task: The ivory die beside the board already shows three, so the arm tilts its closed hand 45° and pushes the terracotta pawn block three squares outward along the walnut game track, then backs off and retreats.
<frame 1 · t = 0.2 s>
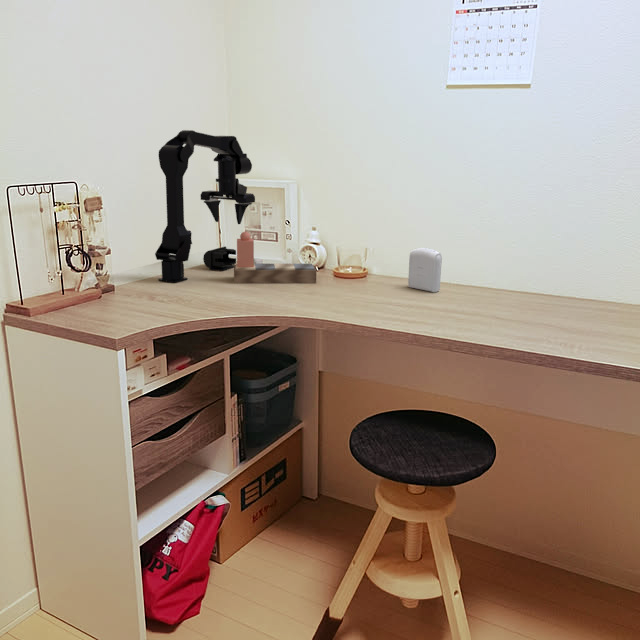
hand: (228, 223, 218), 15 cm above the table, tool pointing down, fingers open, 9 cm apart
pawn: (245, 265, 200), point 4 cm above the table, touching track
photo printer: (423, 289, 195), on the table
track: (245, 280, 201), on the table
die: (254, 271, 214), on the table
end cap: (220, 269, 219), on the table
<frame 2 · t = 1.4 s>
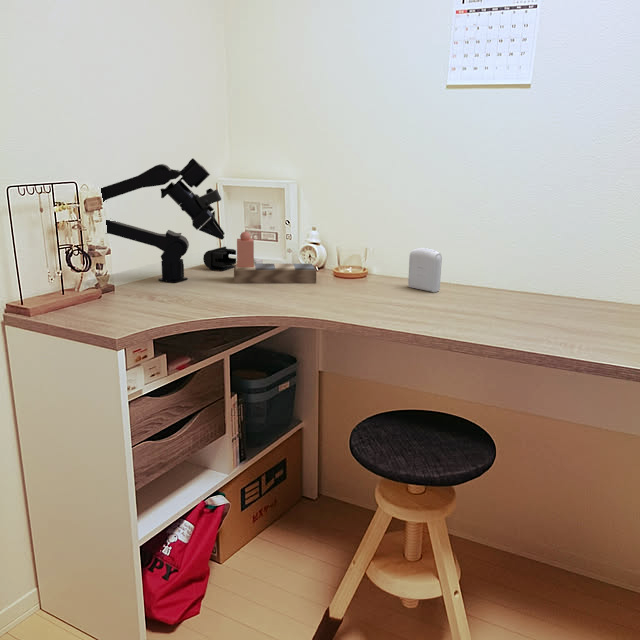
hand: (223, 236, 197), 13 cm above the table, tool tilted 45°, fingers open, 8 cm apart
nothing on the table moved.
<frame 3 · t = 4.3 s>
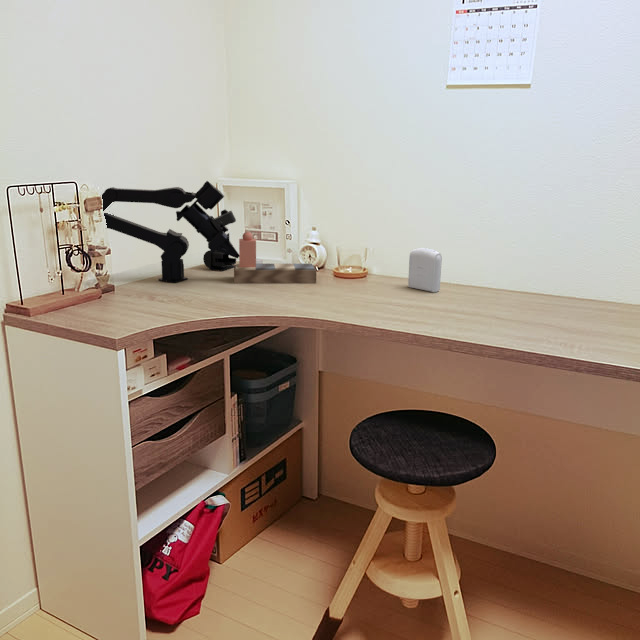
hand: (238, 257, 199), 7 cm above the table, tool tilted 45°, fingers closed, pressing on pawn
pawn: (247, 265, 200), point 4 cm above the table, touching gripper, track
everything else where it was.
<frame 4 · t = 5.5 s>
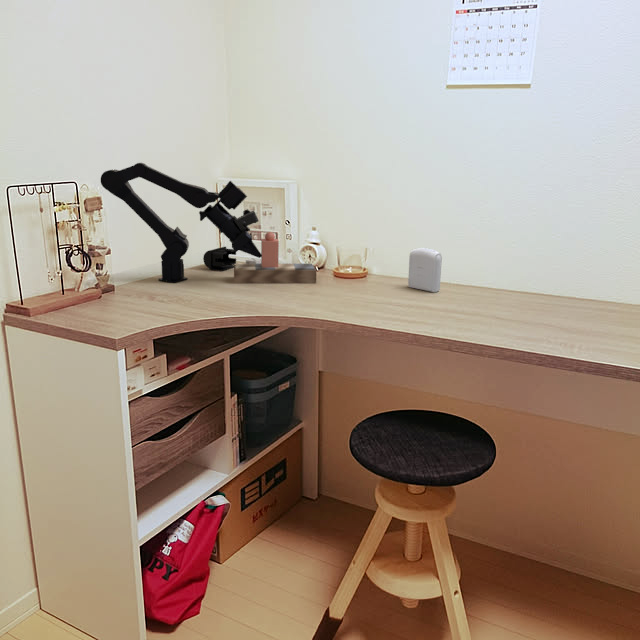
hand: (260, 256, 200), 7 cm above the table, tool tilted 45°, fingers closed, pressing on pawn
pawn: (269, 265, 201), point 5 cm above the table, touching gripper
everything else where it was.
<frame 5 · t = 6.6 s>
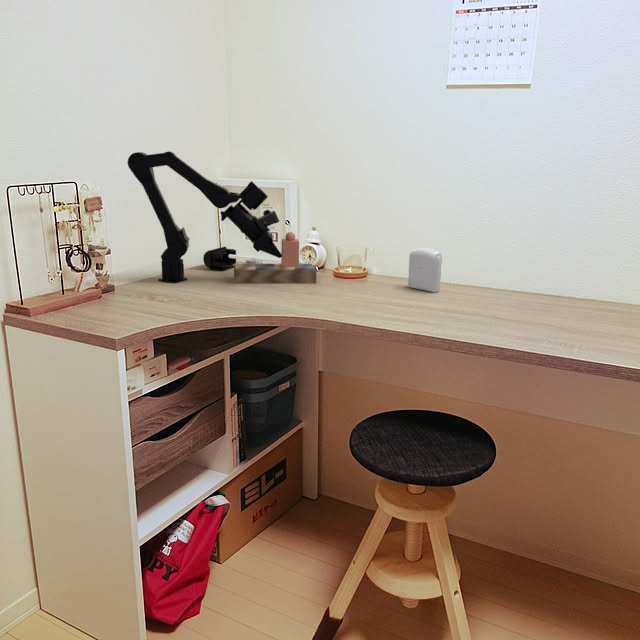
hand: (281, 256, 200), 7 cm above the table, tool tilted 45°, fingers closed
pawn: (289, 265, 201), point 5 cm above the table, touching track
everything else where it was.
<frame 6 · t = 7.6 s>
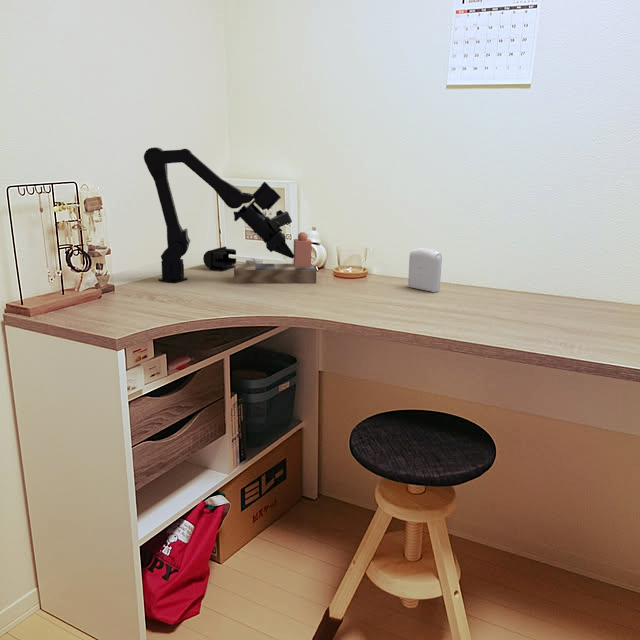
hand: (293, 257, 201), 7 cm above the table, tool tilted 45°, fingers closed, pressing on pawn
pawn: (302, 265, 202), point 5 cm above the table, touching gripper
everything else where it was.
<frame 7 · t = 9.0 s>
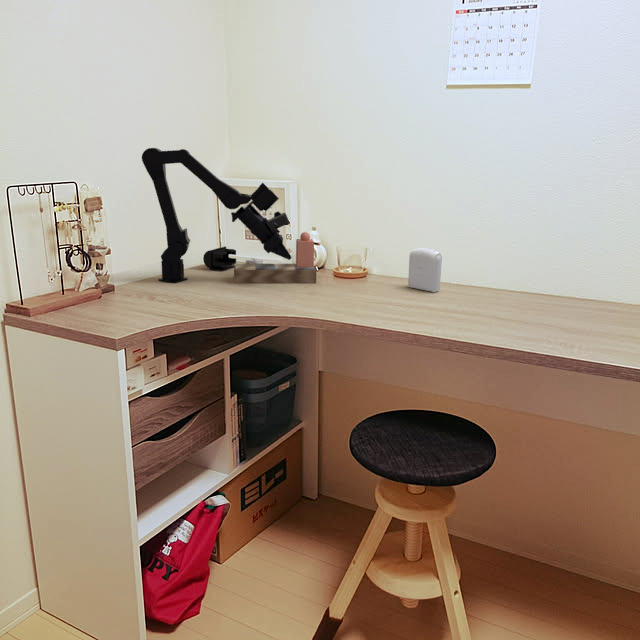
hand: (290, 258, 201), 7 cm above the table, tool tilted 45°, fingers closed
pawn: (304, 265, 202), point 4 cm above the table, touching track
everything else where it was.
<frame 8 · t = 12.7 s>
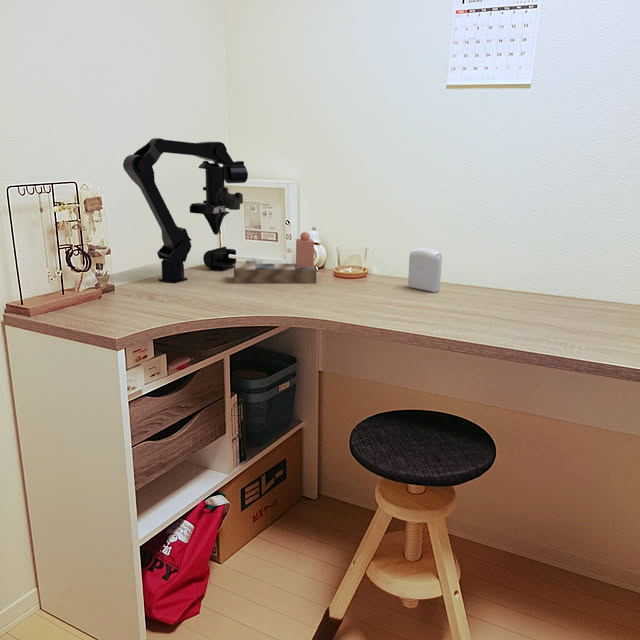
hand: (216, 234, 204), 13 cm above the table, tool pointing down, fingers closed
nothing on the table moved.
at the end: pawn inside the target area (0.3 cm from its centre), point 4.5 cm above the table; pawn tilted 0°; pawn touching track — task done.
